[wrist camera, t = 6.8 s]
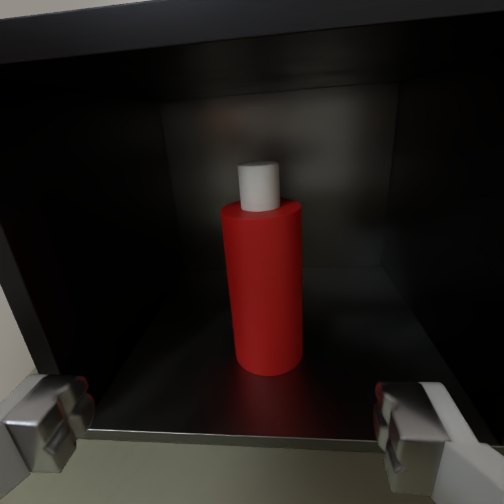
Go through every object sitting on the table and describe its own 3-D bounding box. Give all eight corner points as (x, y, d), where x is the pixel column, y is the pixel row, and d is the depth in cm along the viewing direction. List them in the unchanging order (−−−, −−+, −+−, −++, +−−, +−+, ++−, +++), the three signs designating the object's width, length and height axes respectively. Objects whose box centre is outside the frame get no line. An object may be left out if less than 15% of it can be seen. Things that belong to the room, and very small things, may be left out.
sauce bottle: (231, 375, 25) (206, 172, 19) (240, 331, 30) (223, 160, 24) (304, 377, 24) (303, 166, 18) (301, 331, 30) (299, 156, 23)
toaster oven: (54, 455, 21) (-147, 23, 12) (179, 272, 46) (147, 88, 37) (672, 487, 17) (1119, -140, 8) (440, 267, 42) (477, 59, 32)
